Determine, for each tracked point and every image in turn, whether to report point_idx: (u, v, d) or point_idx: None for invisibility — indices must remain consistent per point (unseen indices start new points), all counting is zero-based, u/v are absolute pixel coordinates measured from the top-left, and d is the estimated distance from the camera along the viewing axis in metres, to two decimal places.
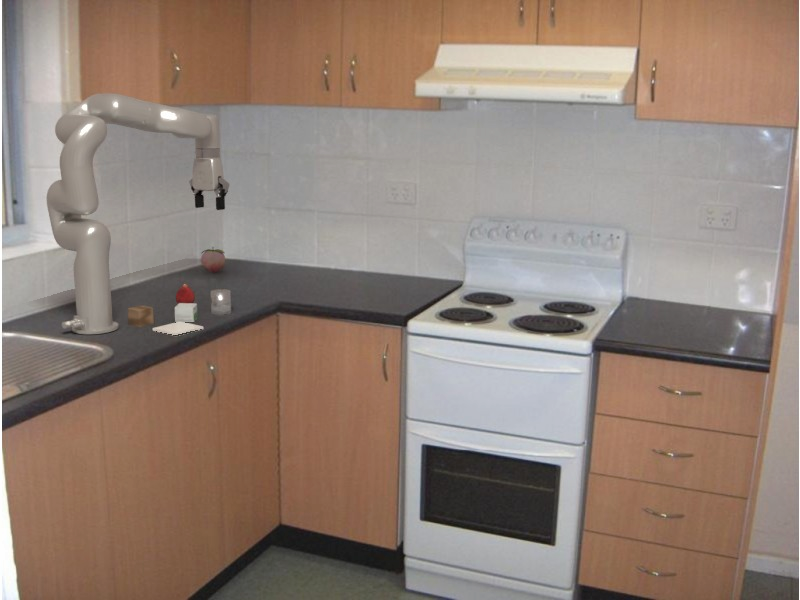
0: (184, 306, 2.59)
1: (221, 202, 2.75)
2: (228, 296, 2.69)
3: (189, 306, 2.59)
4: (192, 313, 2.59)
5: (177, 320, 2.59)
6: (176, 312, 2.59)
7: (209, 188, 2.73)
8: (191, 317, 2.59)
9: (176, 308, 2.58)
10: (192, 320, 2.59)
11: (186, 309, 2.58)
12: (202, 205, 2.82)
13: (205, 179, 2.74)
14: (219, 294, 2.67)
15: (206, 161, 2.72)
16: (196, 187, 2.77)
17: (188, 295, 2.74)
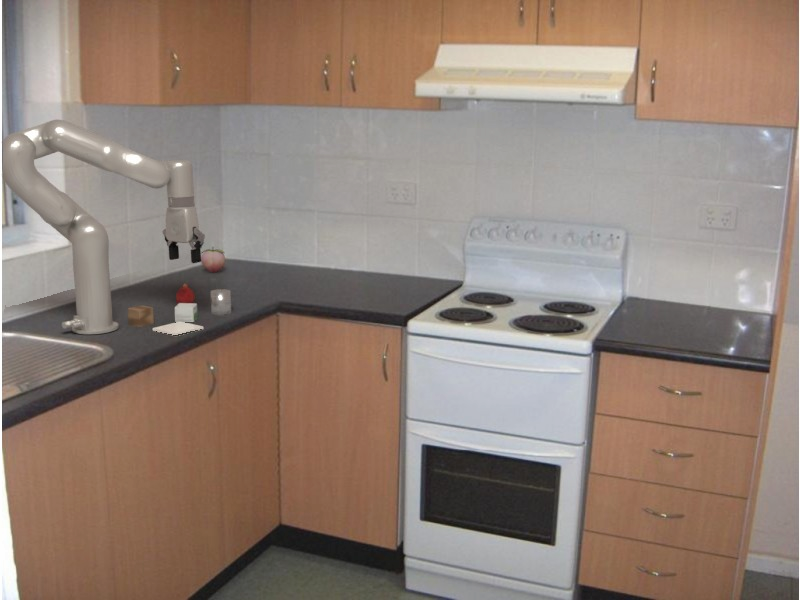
0: (184, 306, 2.59)
1: (196, 255, 2.54)
2: (228, 296, 2.69)
3: (189, 306, 2.59)
4: (192, 313, 2.59)
5: (177, 320, 2.59)
6: (176, 312, 2.59)
7: (183, 240, 2.53)
8: (191, 317, 2.59)
9: (176, 308, 2.58)
10: (192, 320, 2.59)
11: (186, 309, 2.58)
12: (177, 257, 2.61)
13: (179, 230, 2.53)
14: (219, 294, 2.67)
15: (179, 211, 2.52)
16: (169, 238, 2.56)
17: (188, 295, 2.74)
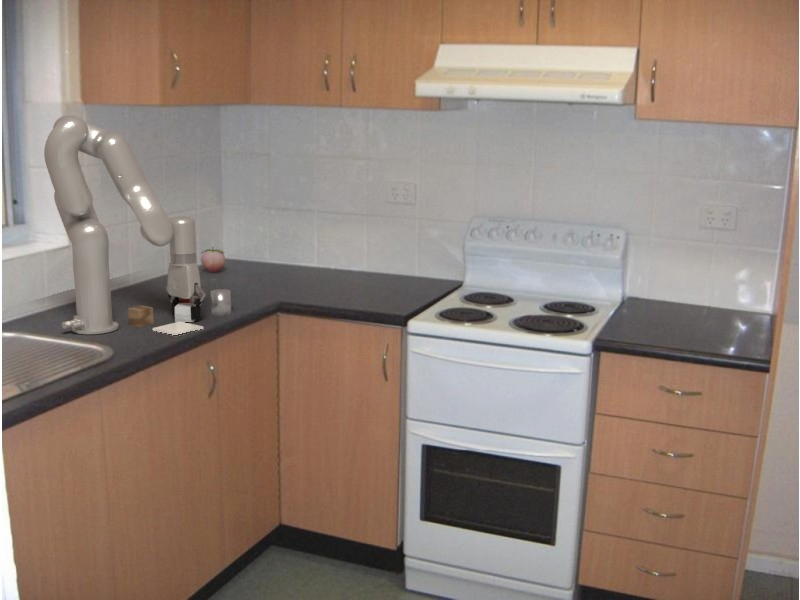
0: (184, 306, 2.59)
1: (196, 311, 2.58)
2: (228, 296, 2.69)
3: (189, 306, 2.59)
4: None
5: (177, 320, 2.59)
6: (176, 311, 2.59)
7: (185, 296, 2.56)
8: None
9: (176, 308, 2.58)
10: (192, 320, 2.59)
11: (186, 308, 2.58)
12: None
13: (180, 286, 2.57)
14: (219, 294, 2.67)
15: (181, 268, 2.55)
16: (171, 293, 2.60)
17: None
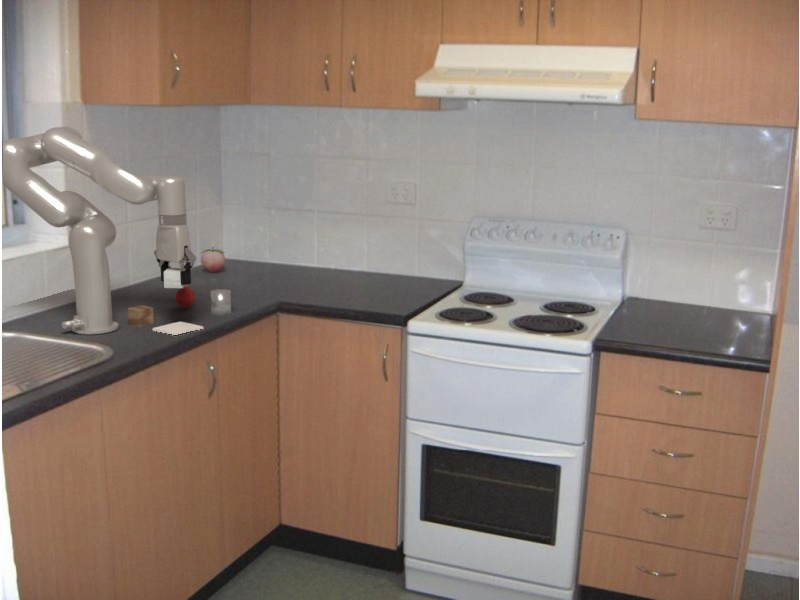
0: (174, 270, 2.45)
1: (186, 276, 2.44)
2: (228, 296, 2.69)
3: (179, 270, 2.46)
4: None
5: (166, 285, 2.45)
6: (166, 276, 2.45)
7: (174, 259, 2.42)
8: None
9: (165, 272, 2.44)
10: (182, 285, 2.45)
11: (176, 273, 2.45)
12: None
13: (169, 249, 2.43)
14: (219, 294, 2.67)
15: (170, 229, 2.41)
16: (160, 257, 2.46)
17: (188, 295, 2.74)
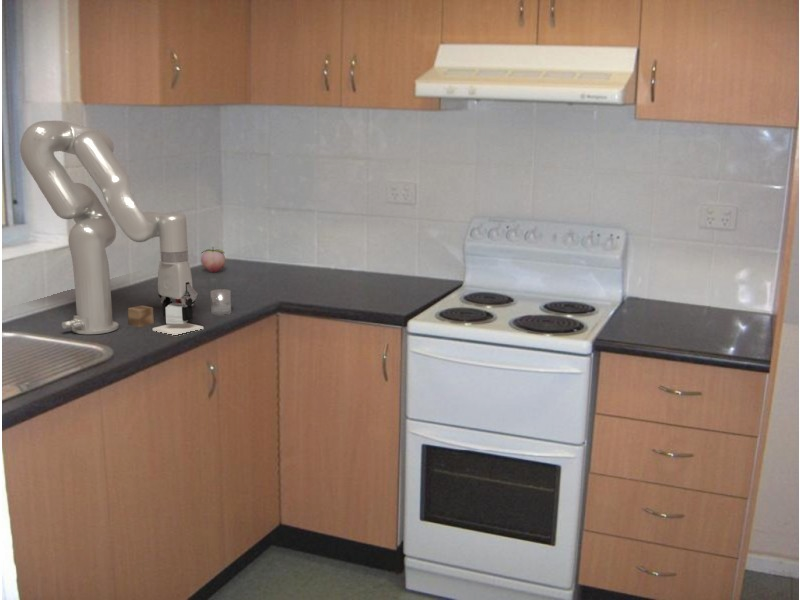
0: (175, 306, 2.48)
1: (188, 312, 2.46)
2: (228, 296, 2.69)
3: (181, 306, 2.48)
4: None
5: (168, 321, 2.48)
6: (167, 312, 2.47)
7: (176, 296, 2.45)
8: None
9: (167, 308, 2.47)
10: (184, 321, 2.48)
11: (178, 309, 2.47)
12: None
13: (171, 286, 2.45)
14: (219, 294, 2.67)
15: (172, 266, 2.44)
16: (162, 293, 2.48)
17: None
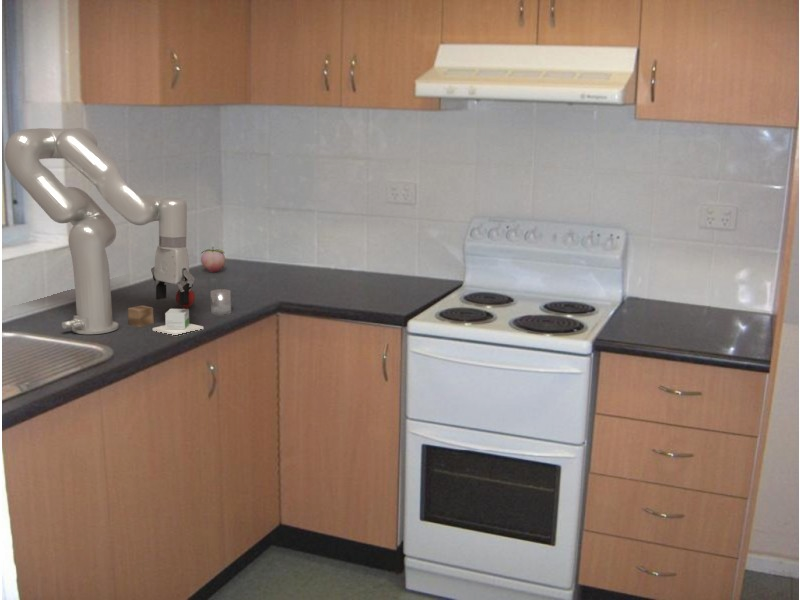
0: (175, 312, 2.48)
1: (184, 297, 2.45)
2: (228, 296, 2.69)
3: (180, 312, 2.48)
4: (183, 319, 2.48)
5: (168, 326, 2.48)
6: (167, 318, 2.47)
7: (172, 281, 2.44)
8: (182, 323, 2.48)
9: (167, 314, 2.47)
10: (183, 326, 2.48)
11: (178, 315, 2.47)
12: (164, 296, 2.52)
13: (168, 271, 2.44)
14: (219, 294, 2.67)
15: (170, 251, 2.43)
16: (158, 278, 2.47)
17: None
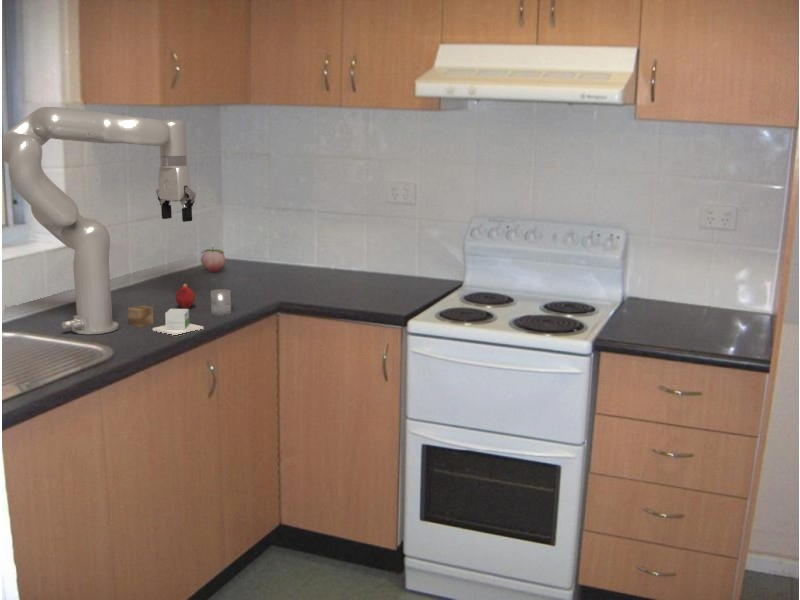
0: (175, 312, 2.48)
1: (187, 213, 2.57)
2: (228, 296, 2.69)
3: (180, 312, 2.48)
4: (183, 319, 2.48)
5: (168, 326, 2.48)
6: (167, 318, 2.47)
7: (174, 198, 2.56)
8: (182, 323, 2.48)
9: (167, 314, 2.47)
10: (183, 326, 2.48)
11: (178, 315, 2.47)
12: (169, 216, 2.65)
13: (170, 189, 2.57)
14: (219, 294, 2.67)
15: (171, 170, 2.55)
16: (162, 197, 2.60)
17: (188, 295, 2.74)
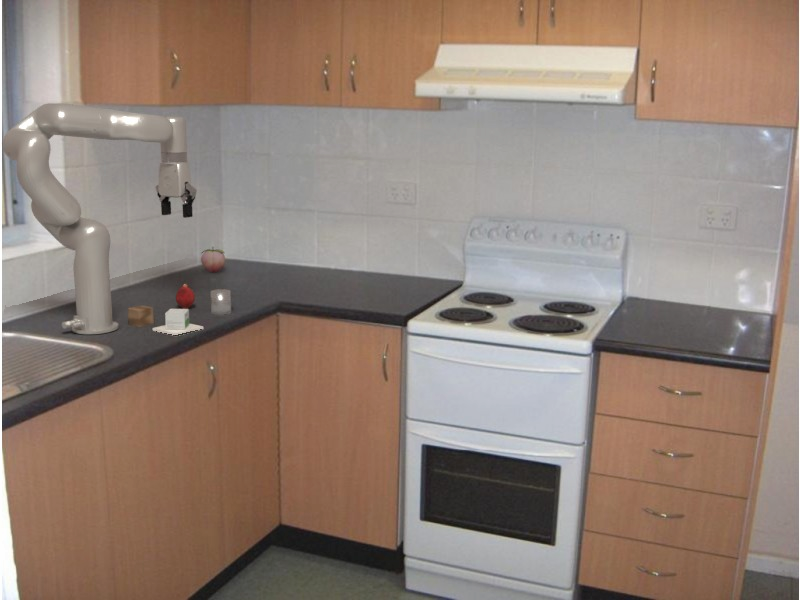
0: (175, 312, 2.48)
1: (188, 209, 2.60)
2: (228, 296, 2.69)
3: (180, 312, 2.48)
4: (183, 319, 2.48)
5: (168, 326, 2.48)
6: (167, 318, 2.47)
7: (175, 194, 2.59)
8: (182, 323, 2.48)
9: (167, 314, 2.47)
10: (183, 326, 2.48)
11: (178, 315, 2.47)
12: (169, 212, 2.67)
13: (171, 185, 2.59)
14: (219, 294, 2.67)
15: (172, 166, 2.58)
16: (162, 193, 2.62)
17: (188, 295, 2.74)
